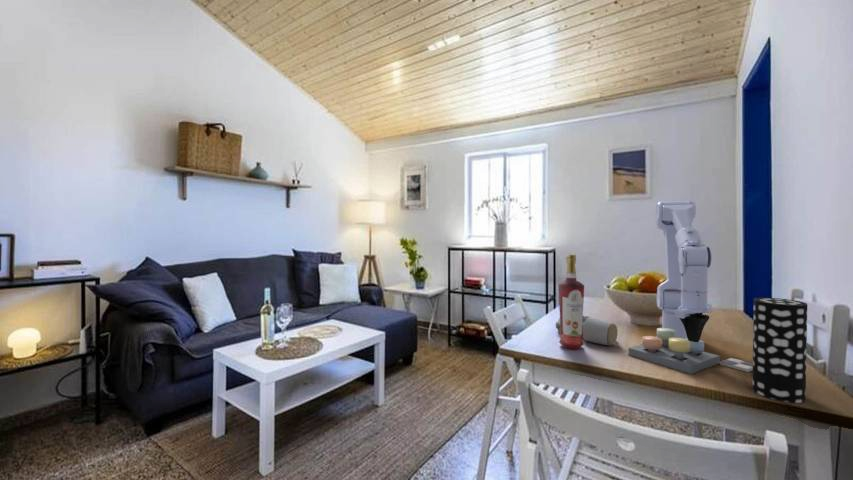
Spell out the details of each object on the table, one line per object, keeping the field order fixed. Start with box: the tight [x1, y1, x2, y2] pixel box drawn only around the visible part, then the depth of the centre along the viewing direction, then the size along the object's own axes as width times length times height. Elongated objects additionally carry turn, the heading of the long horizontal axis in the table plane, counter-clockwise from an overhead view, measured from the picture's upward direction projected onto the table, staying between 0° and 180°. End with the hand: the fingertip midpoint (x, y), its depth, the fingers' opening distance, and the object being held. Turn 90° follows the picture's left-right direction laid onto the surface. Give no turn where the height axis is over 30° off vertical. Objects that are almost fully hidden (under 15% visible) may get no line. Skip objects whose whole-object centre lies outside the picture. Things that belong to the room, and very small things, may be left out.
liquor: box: [557, 254, 585, 350], centre depth 112 cm, size 7×7×28 cm
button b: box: [686, 338, 705, 356], centre depth 100 cm, size 5×5×5 cm
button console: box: [628, 343, 720, 375], centre depth 101 cm, size 14×16×2 cm
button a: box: [656, 327, 676, 348], centre depth 106 cm, size 5×5×5 cm
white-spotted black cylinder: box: [751, 297, 808, 404], centre depth 80 cm, size 8×8×20 cm
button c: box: [641, 335, 662, 353], centre depth 103 cm, size 5×5×5 cm
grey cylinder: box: [583, 316, 618, 347], centre depth 117 cm, size 11×8×8 cm
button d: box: [669, 338, 690, 360], centre depth 97 cm, size 5×5×5 cm
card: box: [719, 357, 753, 373], centre depth 96 cm, size 6×6×1 cm
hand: (693, 341), depth 100 cm, fingers closed, pressing on button b
